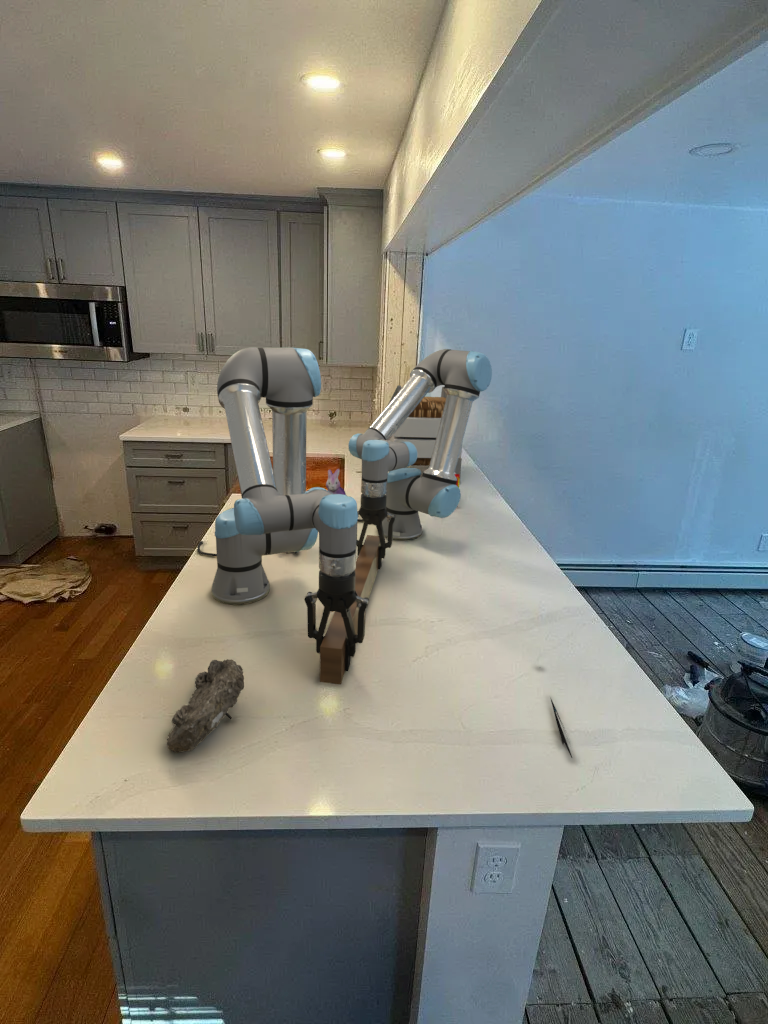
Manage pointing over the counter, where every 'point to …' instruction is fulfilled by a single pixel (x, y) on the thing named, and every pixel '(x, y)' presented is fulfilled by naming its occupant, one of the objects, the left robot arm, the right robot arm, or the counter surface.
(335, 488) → the figurine
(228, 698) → the fossil
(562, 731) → the feather
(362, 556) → the post
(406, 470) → the right robot arm
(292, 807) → the counter surface
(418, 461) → the transformer
